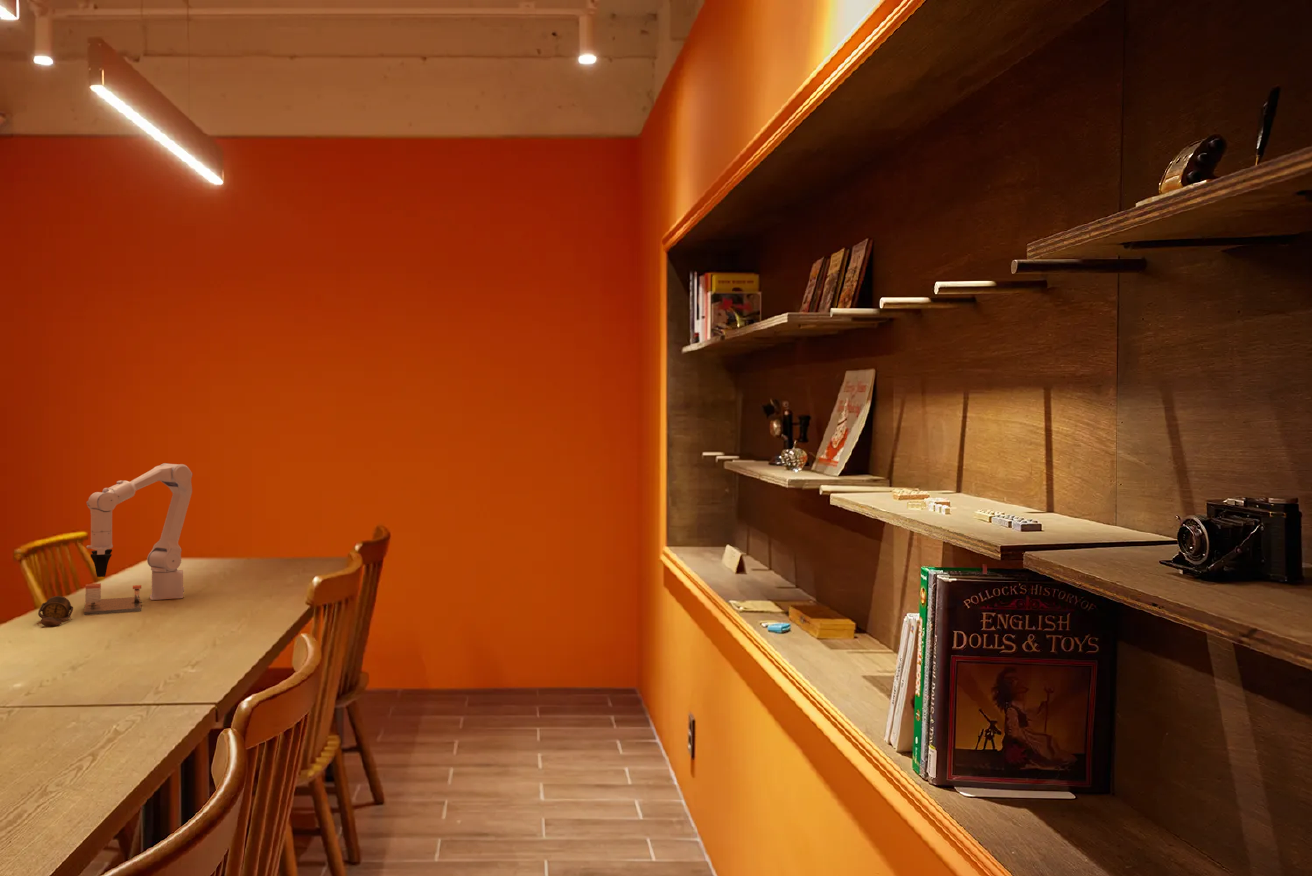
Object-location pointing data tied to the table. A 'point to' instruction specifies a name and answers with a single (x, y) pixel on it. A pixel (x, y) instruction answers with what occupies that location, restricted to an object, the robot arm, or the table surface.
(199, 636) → the table surface
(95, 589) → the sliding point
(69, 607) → the dark brown rounded piece
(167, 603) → the table surface
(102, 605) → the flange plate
